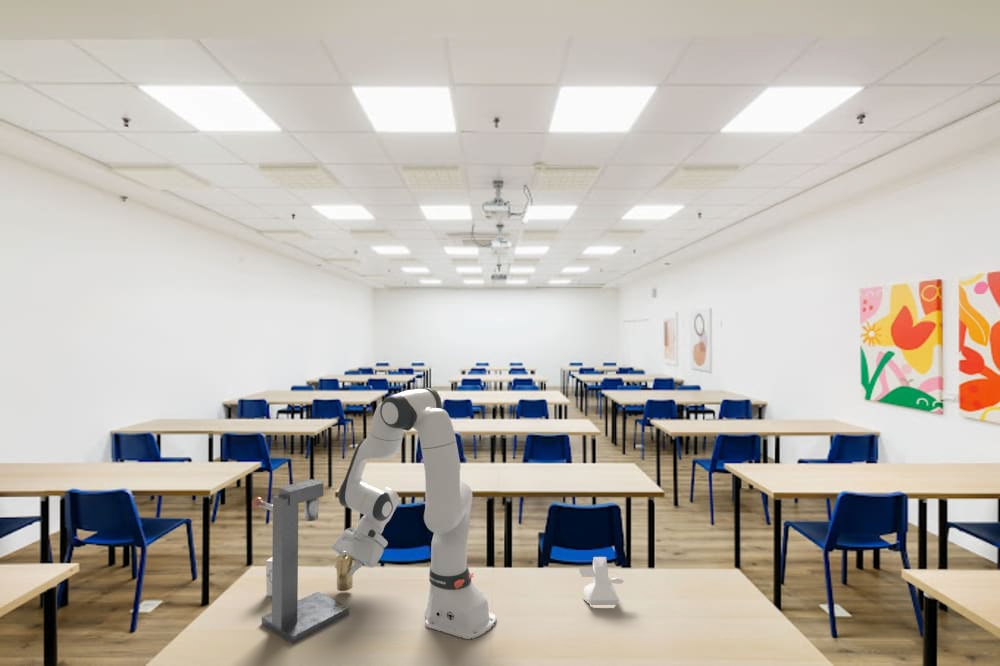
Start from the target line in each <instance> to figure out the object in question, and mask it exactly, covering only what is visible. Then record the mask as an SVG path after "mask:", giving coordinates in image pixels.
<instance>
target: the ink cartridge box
mask: <svg viewBox="0 0 1000 666" xmlns="http://www.w3.org/2000/svg"><path fill="white" fill-rule="evenodd" d="M265 565H266V567H265V569H266V571H265V573H266V574H265V575H266V577H265V578H266V579H265V580H266V597H272V556H271V557H270V558H268V559H267V560H266V563H265Z"/></svg>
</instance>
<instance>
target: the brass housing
mask: <svg viewBox="0 0 1000 666" xmlns="http://www.w3.org/2000/svg"><path fill="white" fill-rule="evenodd" d="M339 555H340V554H339ZM339 555H338V556H337V557H336V564H337V569H336V590H338V591H339V592H347V591H349V590H351V589H353V587H354V585H353V584H354V582H353V579H354V578H353V577H354V576H353V575H352V576H351V575H349V574H347V571H348V569H349V568H352V567H353V560H352V557H351V556H349V555H346V551H342V555H340V556H339Z"/></svg>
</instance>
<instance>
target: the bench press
mask: <svg viewBox="0 0 1000 666" xmlns="http://www.w3.org/2000/svg"><path fill="white" fill-rule="evenodd" d="M321 497H324V482H322V481H318V480H315V479H312V478H311V479H308V480H303V481H300V482H296V483H292V484H288V485H284V486H280V487H278V495H273V496H272V504H271V503H268V502H266V501H264V499H263V498H262V497H260V496H257V497H254V498H253V499H252V503H251V504H252V506H253V507H255V508H260V507H262V508H264V509H266V510H268V511H271V512H272V556H271V557H272V596H271V598H272V599H271V612H270V613H268V614H266V615H263V616H261V625H263V626H264V625H265V626H264V627H266V628H267V627H268V628H267V629H268V630H270V629H271V631H272V632H274V633H275V634H276V635H278V636H279V637H281V638H283V639H284V640H286V642H289V644H292V645H293V644H295V643H296V642H299V641H300V640H302V639H304V638H306V637H308V636H310V635H311V634H314V633H316V632H317V631H320V630H322V629H323V628H325V627H327V626H329V625H331V624H333V623H335V622H337V621H339V620H341V619H342V618H344V617H346V616H348V615H349V614H350V608H349V607H348V606H346V605H344V604H343V603H341V602H339V601H337V600H335V599H334V598H331V597H329V596H327V595H325V594H324V593H322V592H320V591H316V592H314V593H312V594H310V595H307V596H305V597H303V598H301V599H299V598H298V595H299V593H298V591H299V589H298V584H299V577H298V575H299V573H298V571H299V504H301V503H303V502H304V511H303V512H304V521H306V522H313V521H317V520H319V508H320V507H319V504H320V503H319V500H320V499H319V498H321ZM298 599H299V600H298Z"/></svg>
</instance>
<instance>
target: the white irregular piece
mask: <svg viewBox="0 0 1000 666" xmlns="http://www.w3.org/2000/svg"><path fill="white" fill-rule="evenodd" d="M592 558H593V560H592V567H579V568H578V570H579V572H580V575H581V577H582V578H593V582H591V583H589V584H587V585H585V586H584V588H583V593H582V595H583V594H584V597H585V600H586V601H588V602H589V603H590V604H591V605H616V606H617V605H618V604H619V601H620V598H619V596H618V595H617V592H616V590H615V588H614V586H613V584H616V585H622V584H623V583H625V582H624V581H625V580H624V579H623V578H621V577H613V578H611V576H610V575H609V570H608V569H609V568H608V562H607V561H608V560H607V557H606V556H594V557H592Z"/></svg>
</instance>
